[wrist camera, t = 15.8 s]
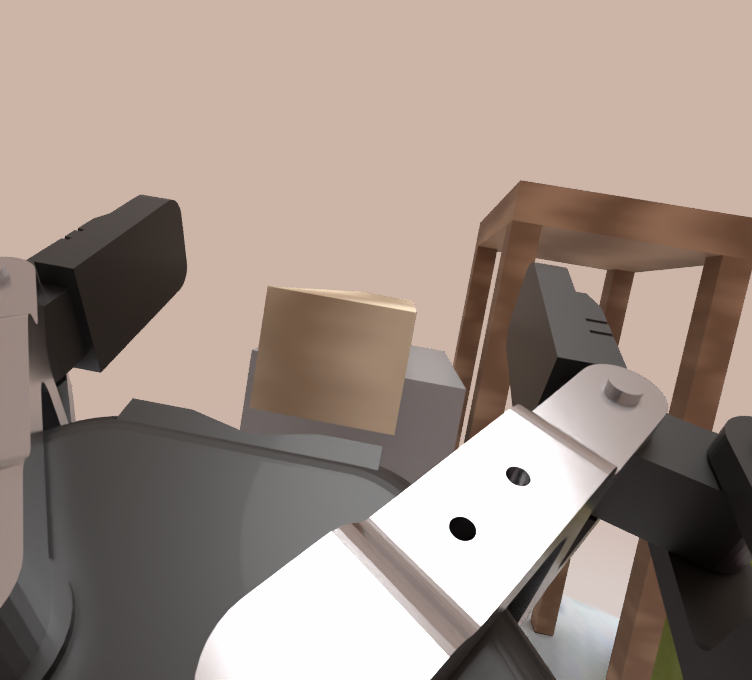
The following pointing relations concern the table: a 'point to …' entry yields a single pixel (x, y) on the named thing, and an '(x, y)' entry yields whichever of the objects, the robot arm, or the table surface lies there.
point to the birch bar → (333, 356)
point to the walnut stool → (621, 260)
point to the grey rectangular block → (414, 423)
